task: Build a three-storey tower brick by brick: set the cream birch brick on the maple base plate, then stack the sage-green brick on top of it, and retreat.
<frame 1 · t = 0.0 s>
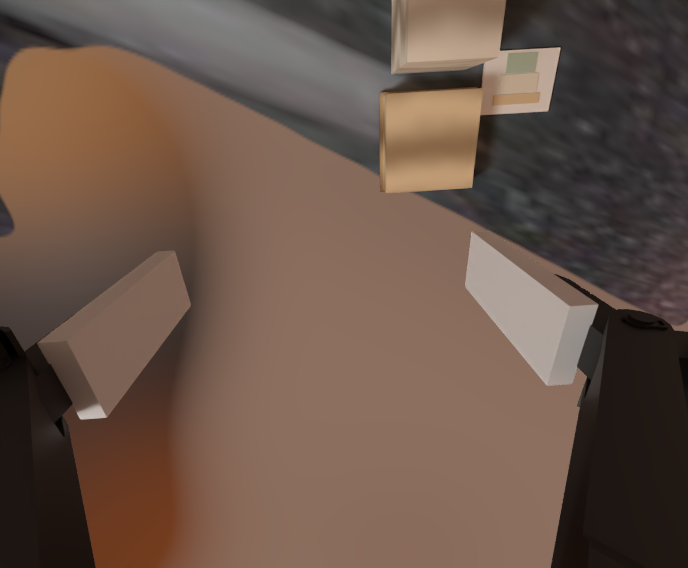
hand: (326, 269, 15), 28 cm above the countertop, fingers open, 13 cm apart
birch brick: (430, 26, 34), on the countertop
base: (424, 142, 39), on the countertop
instruction page: (517, 82, 36), on the countertop
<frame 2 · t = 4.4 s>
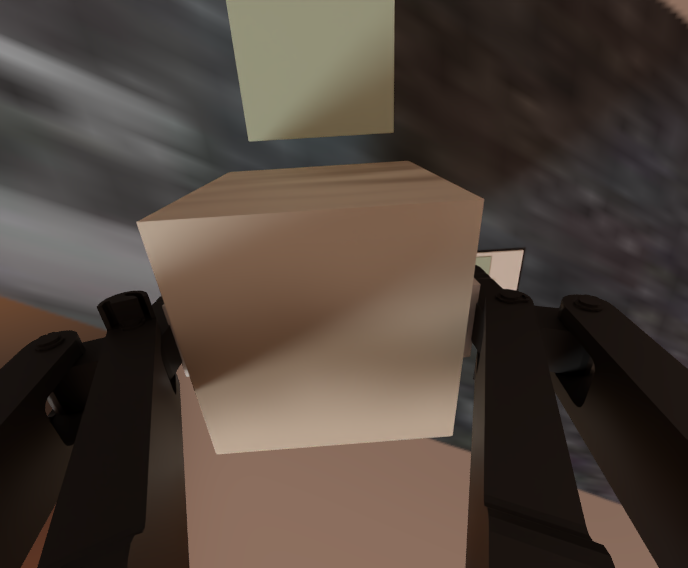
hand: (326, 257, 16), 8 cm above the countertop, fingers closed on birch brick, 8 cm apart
birch brick: (326, 250, 17), point 7 cm above the countertop, touching gripper
instruction page: (464, 289, 26), on the countertop
sage brick: (321, 80, 20), on the countertop
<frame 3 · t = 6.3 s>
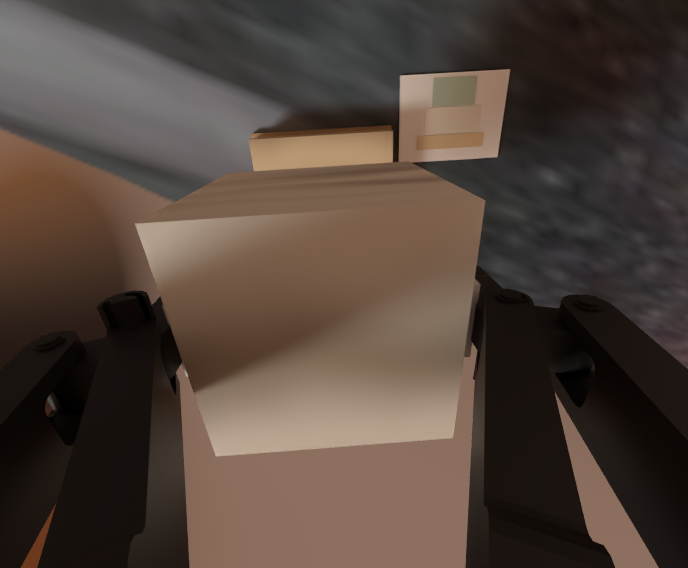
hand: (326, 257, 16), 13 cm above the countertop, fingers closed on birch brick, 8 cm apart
birch brick: (326, 251, 16), point 13 cm above the countertop, touching gripper
base: (326, 198, 28), on the countertop
instruction page: (450, 118, 25), on the countertop
when the fingers open (4 cm above the countertop, at t = 8.2 s): birch brick stays where it is, resting on base.
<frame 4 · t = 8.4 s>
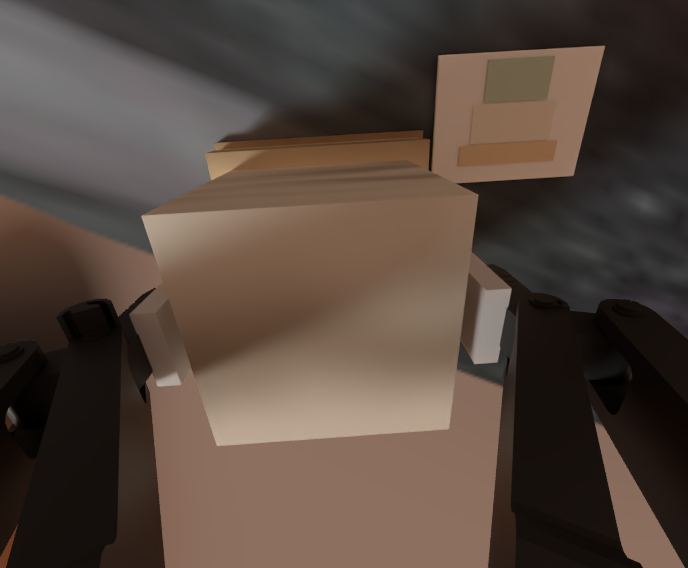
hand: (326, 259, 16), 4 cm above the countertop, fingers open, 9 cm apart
birch brick: (326, 248, 17), point 3 cm above the countertop, touching base
base: (327, 234, 20), on the countertop
instruction page: (509, 120, 17), on the countertop
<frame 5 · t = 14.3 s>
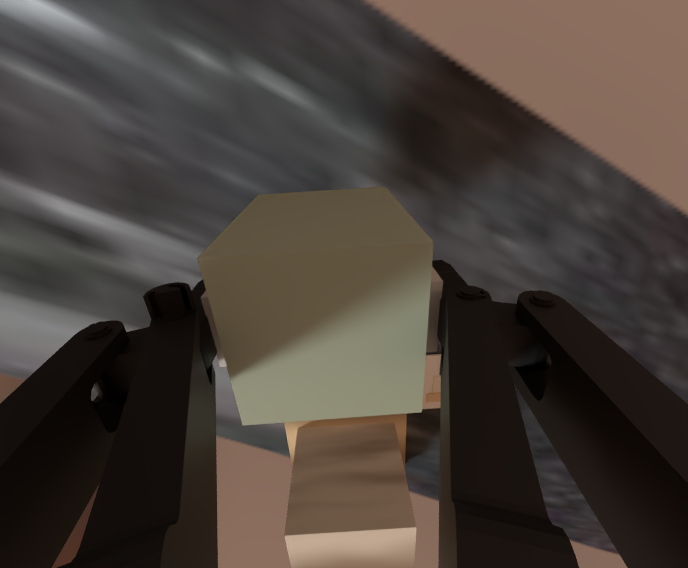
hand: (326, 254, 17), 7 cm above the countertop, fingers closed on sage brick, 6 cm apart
birch brick: (348, 458, 29), point 3 cm above the countertop, touching base
base: (347, 431, 32), on the countertop
instruction page: (455, 380, 29), on the countertop
sage brick: (326, 250, 17), point 7 cm above the countertop, touching gripper
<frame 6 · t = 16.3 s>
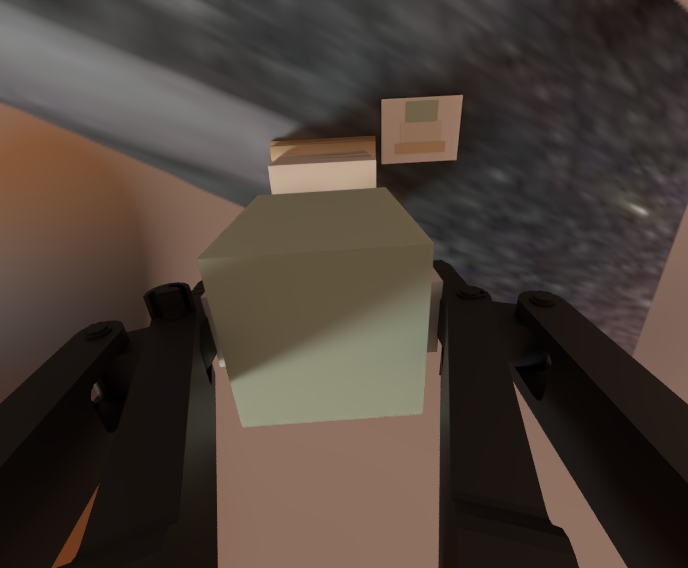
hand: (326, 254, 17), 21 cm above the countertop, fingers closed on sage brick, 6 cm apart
birch brick: (326, 195, 33), point 3 cm above the countertop, touching base
base: (326, 191, 36), on the countertop
instruction page: (420, 130, 34), on the countertop
sage brick: (326, 251, 17), point 21 cm above the countertop, touching gripper
when the fingers open (11 cm above the countertop, at t = 18.6 s): sage brick stays where it is, resting on birch brick.
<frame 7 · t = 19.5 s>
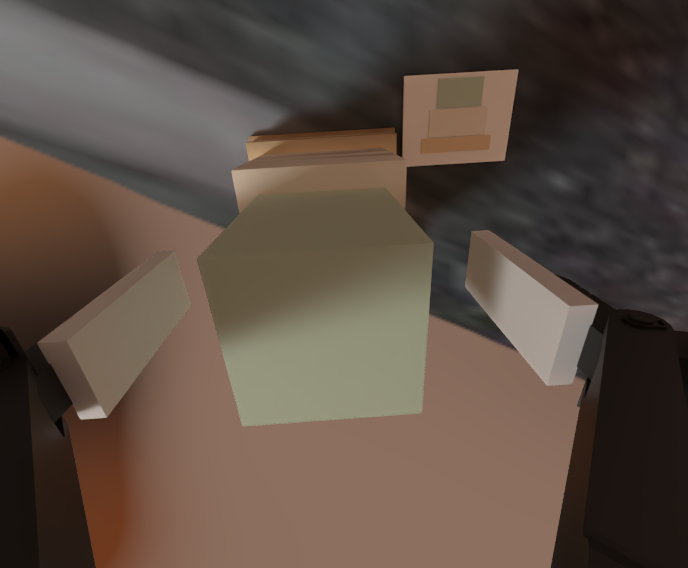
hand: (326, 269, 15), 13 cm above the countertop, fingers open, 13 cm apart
birch brick: (326, 210, 24), point 3 cm above the countertop, touching base, sage brick
base: (327, 203, 27), on the countertop
instruction page: (456, 120, 24), on the countertop
sage brick: (326, 250, 17), point 11 cm above the countertop, touching birch brick
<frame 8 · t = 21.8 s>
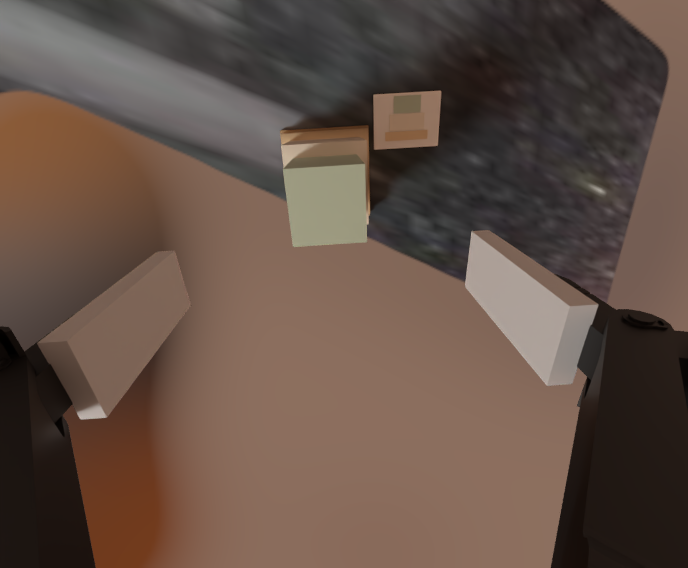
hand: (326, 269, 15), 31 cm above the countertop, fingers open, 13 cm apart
birch brick: (327, 175, 40), point 3 cm above the countertop, touching base, sage brick
base: (327, 173, 42), on the countertop
instruction page: (406, 121, 40), on the countertop
sage brick: (327, 188, 33), point 11 cm above the countertop, touching birch brick
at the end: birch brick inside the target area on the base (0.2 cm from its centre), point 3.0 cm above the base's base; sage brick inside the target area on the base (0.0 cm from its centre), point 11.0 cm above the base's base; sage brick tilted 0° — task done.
